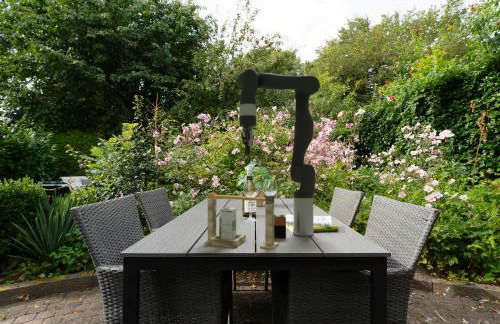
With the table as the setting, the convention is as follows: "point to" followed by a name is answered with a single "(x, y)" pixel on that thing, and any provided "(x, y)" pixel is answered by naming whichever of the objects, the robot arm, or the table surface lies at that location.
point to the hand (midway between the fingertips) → (247, 154)
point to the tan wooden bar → (235, 197)
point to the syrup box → (227, 223)
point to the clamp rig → (269, 235)
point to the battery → (279, 226)
